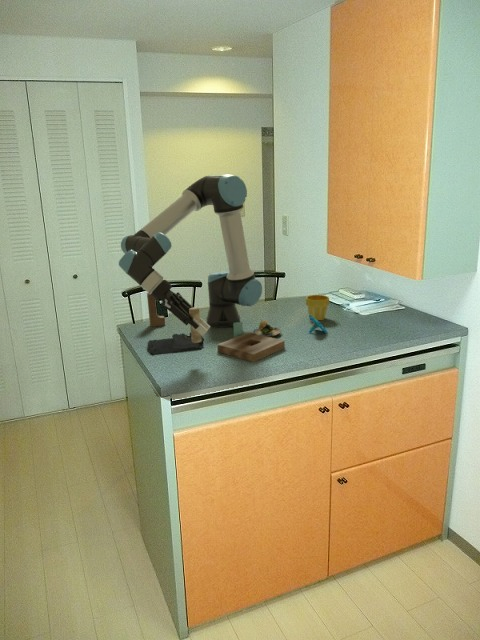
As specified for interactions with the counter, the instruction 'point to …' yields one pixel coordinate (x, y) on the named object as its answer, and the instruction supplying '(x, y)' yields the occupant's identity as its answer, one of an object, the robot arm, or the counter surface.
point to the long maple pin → (194, 334)
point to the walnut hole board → (251, 346)
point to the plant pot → (317, 306)
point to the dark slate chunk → (174, 345)
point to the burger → (266, 330)
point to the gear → (316, 325)
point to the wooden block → (154, 312)
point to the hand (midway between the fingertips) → (206, 331)
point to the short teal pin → (238, 329)
